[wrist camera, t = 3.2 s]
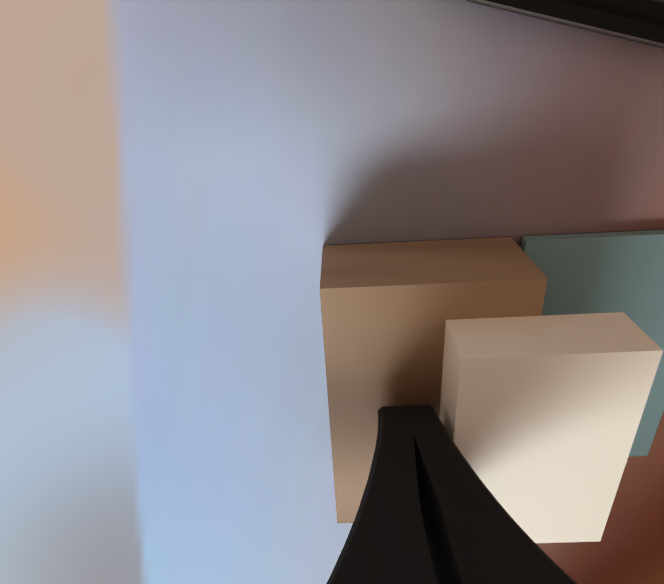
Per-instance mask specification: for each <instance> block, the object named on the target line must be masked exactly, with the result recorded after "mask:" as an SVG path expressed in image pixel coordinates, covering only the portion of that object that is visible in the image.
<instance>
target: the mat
mask: <svg viewBox="0 0 664 584" xmlns="http://www.w3.org/2000/svg"><path fill="white" fill-rule="evenodd" d="M521 249H522V250H523V251H524V252H525V253H526V255H527V256H528V257H529V258H530V259H531V260H532V261H533V263H534V264H535V265H536V266H537V267H538V268H539V269H540V271H541V272H542V273H543V274H544V275H545V276H546V277H547V279H548V281H547V286H546V292H545V297H544V303H543V309H542V314H541V316H545V315H568V314H591V313H614V312H624V313H625V314H626V315H627V316H628V317H629V318H630V319H631V320H632V321H633V322H634V323H635V324H636V325H637V326H638V327H639V328H640V329H641V330H643V331H644V332H645V333H646V334H647V335H648V336H649V337H650V338H651V339H652V340H653V341H654V342H655V343H656V344H657V345H658V346H659V347H660V348H661V349H662V350H663V353H662V356H661V359H660V362H659V365H658V368H657V371H656V374H655V377H654V380H653V383H652V386H651V389H650V392H649V396H648V399H647V402H646V405H645V408H644V411H643V414H642V417H641V420H640V423H639V426H638V429H637V432H636V435H635V438H634V441H633V444H632V447H631V450H630V453H629V456H648V453H649V450H650V448H651V445H652V442H653V439H654V437H655V434H656V431H657V428H658V425H659V423H660V420H661V417H662V414H663V412H664V230H647V231H625V232H604V233H582V234H561V235H539V236H522V243H521ZM629 456H628V457H629Z"/></svg>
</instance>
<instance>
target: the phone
mask: <svg viewBox="0 0 664 584" xmlns="http://www.w3.org/2000/svg"><path fill="white" fill-rule="evenodd" d="M466 1H469V2H473V3H477V4H481V5H485V6H489V7H494V8H498V9H502V10H506V11H510V12H514V13H518V14H523V15H527V16H531V17H535V18H539V19H543V20H548V21H552V22H556V23H560V24H564V25H568V26H573V27H577V28H581V29H585V30H589V31H593V32H598V33H602V34H606V35H610V36H614V37H618V38H622V39H627V40H631V41H635V42H639V43H643V44H647V45H652V46H656V47H660V48H664V0H466Z"/></svg>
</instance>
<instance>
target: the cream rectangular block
mask: <svg viewBox="0 0 664 584" xmlns="http://www.w3.org/2000/svg"><path fill="white" fill-rule="evenodd" d="M662 353H663V350H662V349H661V348H660V347H659V346H658V345H657V344H656V343H655V342H654V341H653V340H652V339H651V338H650V337H649V336H648V335H647V334H646V333H645V332H644V331H643V330H641V329H640V328H639V327H638V326H637V325H636V324H635V323H634V322H633V321H632V320H631V319H630V318H629V317H628V316H627V315H626V314H625V313H624V312H614V313H591V314H568V315H545V316H522V317H499V318H476V319H453V320H446V323H445V339H444V354H443V369H442V384H441V400H440V415H439V418H440V420H441V422H442V424H443V425H444V427H445V429H446V430H447V432H448V434H449V435H450V437H451V438H452V440H453V441H454V443H455V444H456V446H457V447H458V449H459V450H460V452H461V453H462V455H463V456H464V458H465V459H466V460H467V462H468V463H469V464H470V466H471V467H472V469H473V470H474V471H475V473H476V474H477V475H478V477H479V478H480V479H481V481H482V482H483V483H484V485H485V486H486V487H487V488H488V490H489V491H490V492H491V493H492V495H493V496H494V497H495V498H496V499H497V501H498V502H499V503H500V504H501V506H502V507H503V508H504V509H505V510H506V511H507V513H508V514H509V515H510V516H511V517H512V518H513V519H514V521H515V522H516V523H517V524H518V525H519V526H520V527H521V528H522V529H523V530H524V532H525V533H526V534H527V535H528V536H529V537H530V538H531V539H532V540H533V541H534V542H535V543H562V542H599V541H601V538H602V535H603V532H604V529H605V526H606V523H607V520H608V517H609V514H610V511H611V508H612V505H613V502H614V499H615V495H616V492H617V489H618V486H619V483H620V480H621V477H622V474H623V471H624V468H625V465H626V462H627V459H628V456H629V453H630V450H631V447H632V444H633V441H634V438H635V435H636V432H637V429H638V426H639V423H640V420H641V417H642V414H643V411H644V408H645V405H646V402H647V399H648V396H649V392H650V389H651V386H652V383H653V380H654V377H655V374H656V371H657V368H658V365H659V362H660V359H661V356H662Z"/></svg>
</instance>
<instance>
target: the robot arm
mask: <svg viewBox="0 0 664 584" xmlns="http://www.w3.org/2000/svg"><path fill="white" fill-rule="evenodd" d="M327 584H577V583H576V582H575V581H574V580H573V579H572V578H571V577H570V576H569V575H567V574H566V573H565V572H564V571H563V570H562V569H561V568H560V567H559V566H558V565H557V564H556V563H555V562H554V561H553V560H552V559H551V558H550V557H549V556H548V555H547V554H546V553H545V552H544V551H543V550H542V549H541V548H540V547H539V546H538V545H537V544H536V543H535V542H534V541H533V540H532V539H531V538H530V537H529V536H528V535H527V534H526V533H525V532H524V530H523V529H522V528H521V527H520V526H519V525H518V524H517V523H516V522H515V521H514V519H513V518H512V517H511V516H510V515H509V514H508V513H507V511H506V510H505V509H504V508H503V507H502V506H501V504H500V503H499V502H498V501H497V499H496V498H495V497H494V496H493V495H492V493H491V492H490V491H489V490H488V488H487V487H486V486H485V485H484V483H483V482H482V481H481V479H480V478H479V477H478V475H477V474H476V473H475V471H474V470H473V469H472V467H471V466H470V464H469V463H468V462H467V460H466V459H465V458H464V456H463V455H462V453H461V452H460V450H459V449H458V447H457V446H456V444H455V443H454V441H453V440H452V438H451V437H450V435H449V434H448V432H447V430H446V429H445V427H444V425H443V424H442V422H441V420H440V418H439V417H438V415H437V413H436V411H435V409H434V408H433V407H432V406H431V405H409V406H382V407H381V408H380V409H379V410H378V433H377V440H376V446H375V451H374V456H373V460H372V464H371V468H370V473H369V477H368V480H367V483H366V486H365V490H364V493H363V496H362V499H361V502H360V506H359V509H358V511H357V514H356V517H355V520H354V522H353V525H352V528H351V530H350V533H349V535H348V538H347V540H346V543H345V545H344V547H343V549H342V552H341V554H340V556H339V558H338V561H337V563H336V565H335V567H334V569H333V572H332V574H331V576H330V578H329V580H328V582H327Z"/></svg>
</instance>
